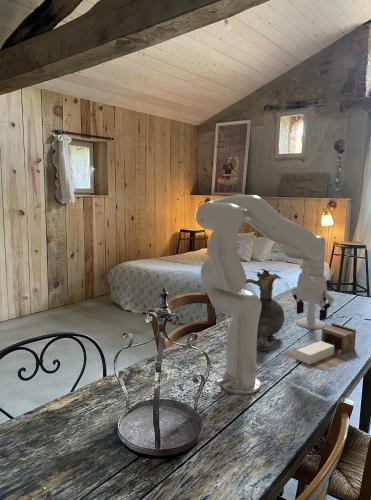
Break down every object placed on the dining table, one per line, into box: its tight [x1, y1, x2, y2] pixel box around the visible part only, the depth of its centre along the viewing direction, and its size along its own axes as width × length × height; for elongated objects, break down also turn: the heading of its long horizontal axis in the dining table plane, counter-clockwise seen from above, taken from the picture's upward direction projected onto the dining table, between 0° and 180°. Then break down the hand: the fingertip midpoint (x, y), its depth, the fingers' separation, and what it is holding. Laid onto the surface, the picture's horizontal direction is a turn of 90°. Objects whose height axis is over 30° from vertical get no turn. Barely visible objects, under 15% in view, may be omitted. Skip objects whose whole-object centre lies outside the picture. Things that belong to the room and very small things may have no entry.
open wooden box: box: [282, 322, 357, 372], centre depth 155 cm, size 26×18×9 cm
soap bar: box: [296, 340, 334, 366], centre depth 152 cm, size 15×6×4 cm, turn 127°
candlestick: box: [296, 302, 326, 330], centre depth 189 cm, size 13×13×30 cm
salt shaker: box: [257, 323, 272, 352], centre depth 157 cm, size 6×6×12 cm
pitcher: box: [246, 268, 285, 341], centre depth 173 cm, size 11×19×30 cm, turn 56°
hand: (311, 316), depth 147 cm, fingers open, 9 cm apart
